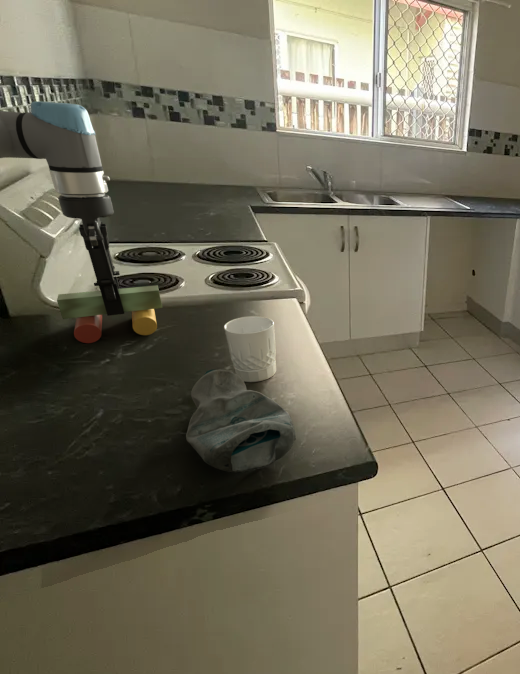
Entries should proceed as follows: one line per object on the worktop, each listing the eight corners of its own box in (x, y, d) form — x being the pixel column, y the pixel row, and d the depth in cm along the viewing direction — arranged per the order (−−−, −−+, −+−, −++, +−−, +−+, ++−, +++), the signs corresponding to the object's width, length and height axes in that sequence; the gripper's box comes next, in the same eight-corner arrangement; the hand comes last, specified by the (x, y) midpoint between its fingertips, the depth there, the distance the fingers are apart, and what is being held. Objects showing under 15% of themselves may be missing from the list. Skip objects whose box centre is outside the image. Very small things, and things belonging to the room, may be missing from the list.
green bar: (62, 319, 92) (56, 300, 91) (64, 313, 95) (58, 294, 93) (162, 307, 101) (158, 290, 100) (161, 302, 104) (157, 285, 102)
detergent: (309, 457, 68) (261, 379, 85) (301, 418, 65) (252, 345, 82) (206, 500, 61) (175, 405, 78) (191, 458, 57) (162, 368, 74)
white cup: (283, 378, 87) (277, 329, 83) (235, 388, 83) (226, 336, 79) (275, 360, 93) (269, 313, 89) (229, 368, 89) (221, 319, 85)
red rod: (103, 341, 94) (98, 322, 92) (77, 344, 92) (71, 326, 90) (104, 319, 102) (99, 302, 101) (80, 322, 100) (75, 305, 98)
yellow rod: (158, 333, 99) (154, 315, 97) (135, 336, 97) (130, 318, 95) (155, 313, 108) (151, 297, 106) (133, 316, 105) (129, 299, 104)
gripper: (109, 201, 85) (139, 321, 94) (109, 187, 96) (137, 295, 106) (52, 202, 80) (91, 328, 90) (60, 187, 92) (93, 300, 102)
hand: (115, 310), depth 98 cm, fingers closed on green bar, 3 cm apart
